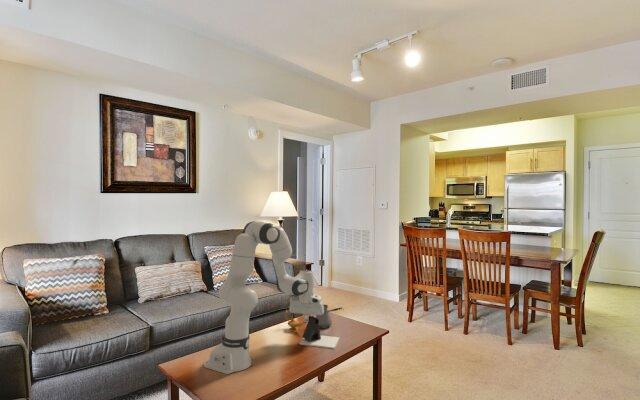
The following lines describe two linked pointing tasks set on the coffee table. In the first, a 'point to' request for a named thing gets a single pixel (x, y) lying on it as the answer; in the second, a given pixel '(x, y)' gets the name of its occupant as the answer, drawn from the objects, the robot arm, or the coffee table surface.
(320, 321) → the coffee pot
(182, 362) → the coffee table surface
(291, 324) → the magic lamp
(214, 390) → the coffee table surface
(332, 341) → the mat
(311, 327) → the phone stand
